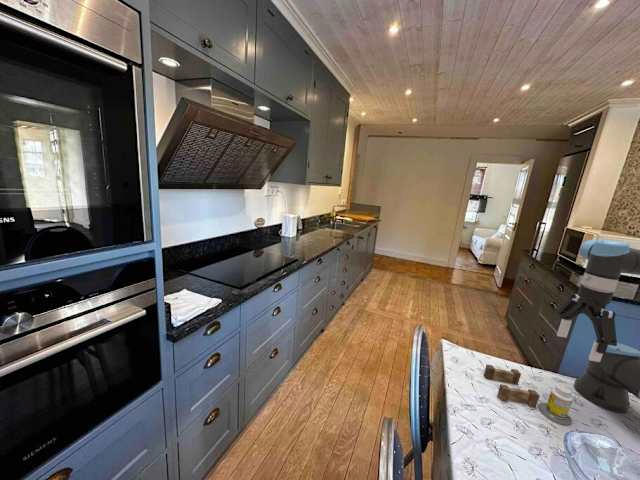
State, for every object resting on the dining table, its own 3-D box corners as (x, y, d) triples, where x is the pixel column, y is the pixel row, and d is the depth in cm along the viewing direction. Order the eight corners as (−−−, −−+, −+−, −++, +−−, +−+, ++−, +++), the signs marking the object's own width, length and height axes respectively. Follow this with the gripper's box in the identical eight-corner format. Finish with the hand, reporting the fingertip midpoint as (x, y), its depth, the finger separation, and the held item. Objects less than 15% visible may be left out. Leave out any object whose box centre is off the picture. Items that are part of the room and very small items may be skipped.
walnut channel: (514, 380, 109) (517, 369, 108) (535, 407, 96) (539, 395, 94) (483, 375, 110) (486, 364, 109) (500, 400, 97) (503, 388, 96)
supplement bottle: (547, 404, 97) (555, 380, 95) (567, 415, 93) (576, 390, 91) (543, 410, 94) (551, 386, 91) (564, 422, 89) (573, 397, 87)
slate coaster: (558, 406, 97) (559, 405, 97) (578, 428, 88) (578, 426, 88) (532, 401, 98) (532, 400, 98) (548, 422, 90) (549, 421, 89)
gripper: (555, 274, 96) (539, 326, 100) (620, 303, 72) (596, 370, 76) (578, 277, 95) (561, 329, 99) (652, 307, 71) (625, 375, 75)
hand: (576, 347), depth 88 cm, fingers open, 13 cm apart
